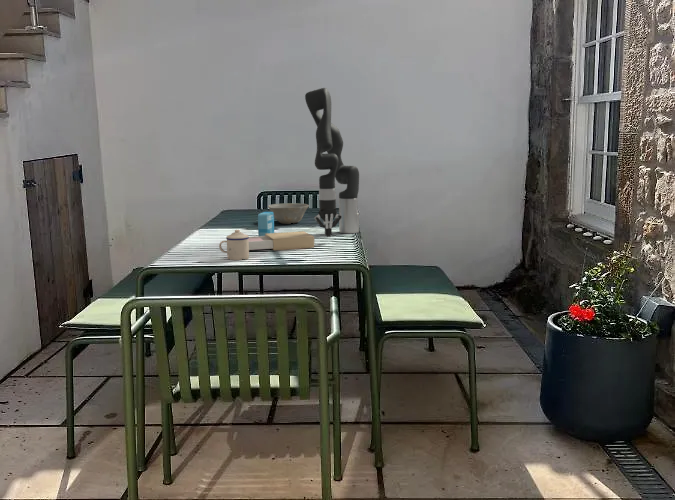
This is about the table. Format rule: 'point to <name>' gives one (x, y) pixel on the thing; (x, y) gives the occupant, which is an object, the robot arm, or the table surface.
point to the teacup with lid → (236, 246)
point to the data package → (265, 223)
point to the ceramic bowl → (288, 212)
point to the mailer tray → (261, 242)
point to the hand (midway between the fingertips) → (328, 236)
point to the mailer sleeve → (291, 240)
